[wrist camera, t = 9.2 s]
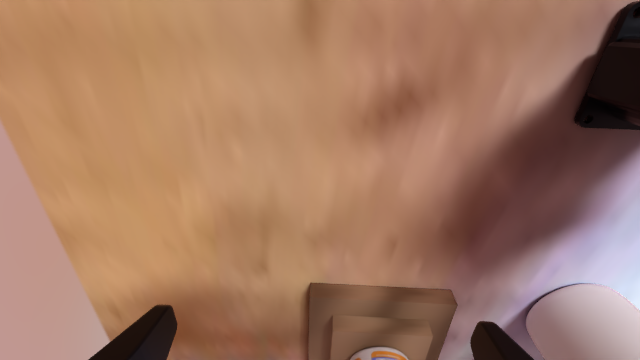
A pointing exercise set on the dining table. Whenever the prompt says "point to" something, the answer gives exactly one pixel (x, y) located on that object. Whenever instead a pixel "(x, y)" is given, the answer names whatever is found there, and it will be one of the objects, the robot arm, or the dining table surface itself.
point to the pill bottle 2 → (585, 324)
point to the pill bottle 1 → (379, 354)
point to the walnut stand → (377, 320)
